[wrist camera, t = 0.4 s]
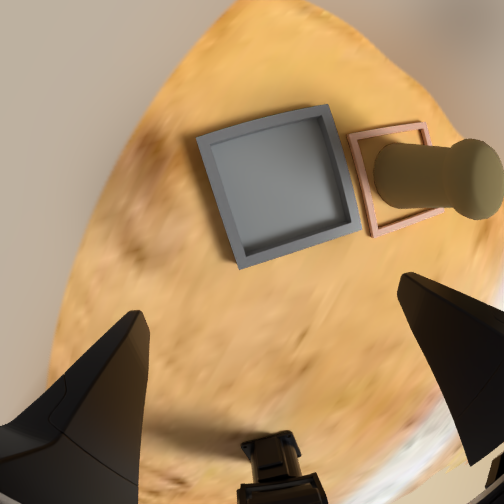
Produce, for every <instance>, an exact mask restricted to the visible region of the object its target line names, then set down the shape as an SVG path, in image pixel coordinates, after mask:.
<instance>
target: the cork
mask: <svg viewBox="0 0 504 504" xmlns="http://www.w3.org/2000/svg"><path fill="white" fill-rule="evenodd" d="M373 172H374V182H375V185H376V188H377V191H378V193H379V194H380V196H381V197H382V199H383V200H384V201H385V202H386V203H387V204H389V205H390V206H392V207H395V208H398V209H408V208H454V209H455V210H456V211H457V212H458V213H460V214H461V215H463V216H465V217H467V218H470V219H473V220H481V219H488V218H489V217H491V216H492V215H494V214H495V213H496V212H497V211H498V209H499V208H500V206H501V204H502V201H503V197H504V170H503V166H502V163H501V161H500V158H499V156H498V155H497V153H496V152H495V150H494V149H493V148H491V147H490V146H489V145H487V144H486V143H485V142H484V141H480V140H476V139H464V140H462V141H460V142H457V143H456V144H454V145H452V147H451V148H447V147H439V146H429V145H417V144H404V143H392V144H390V145H387V146H385V147H384V148H383V149H382V150H381V151H380V152H379V154H378V156H377V158H376V160H375V165H374V171H373Z"/></svg>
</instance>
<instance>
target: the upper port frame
mask: <svg viewBox="0 0 504 504" xmlns="http://www.w3.org/2000/svg"><path fill="white" fill-rule="evenodd" d="M417 129H420V130H421V133H422V137H423V141H424V145H429V146H432V143H431V139H430V135H429V131H428V128H427V124H426V122H420V123H412V124H405V125H398V126H391V127H385V128H379V129H373V130H367V131H362V132H357V133H351V134H347V135H346V136H347V139H348V142H349V146H350V149H351V152H352V156H353V160H354V163H355V167H356V171H357V175H358V179H359V183H360V187H361V191H362V195H363V199H364V204H365V209H366V213H367V218H368V223H369V228H370V233H371V237H372V238H376V237H379V236H382V235H384V234H387V233H390V232H393V231H395V230H398V229H401V228H404V227H406V226H409V225H412V224H414V223H417V222H420V221H422V220H425V219H428V218H430V217H433V216H436V215H438V214H441V213H443V212H444V208H433V209H430V210H427V211H424V212H422V213H419V214H416V215H413V216H410V217H408V218H405V219H402V220H399V221H396V222H393V223H391V224H388V225H385V226H382V227H379V228H378V225H377V220H376V215H375V210H374V205H373V200H372V196H371V191H370V187H369V183H368V178H367V174H366V170H365V167H364V163H363V159H362V155H361V152H360V148H359V145H358V141H357V140H359V139H364V138H369V137H375V136H380V135H386V134H392V133H397V132H404V131H410V130H417Z"/></svg>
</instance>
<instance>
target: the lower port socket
mask: <svg viewBox="0 0 504 504" xmlns="http://www.w3.org/2000/svg"><path fill="white" fill-rule="evenodd" d="M196 140H197V144H198V147H199V150H200V153H201V156H202V159H203V162H204V166H205V169H206V172H207V175H208V178H209V181H210V184H211V187H212V190H213V193H214V196H215V199H216V202H217V206H218V209H219V212H220V215H221V218H222V221H223V224H224V227H225V230H226V233H227V236H228V239H229V242H230V245H231V248H232V251H233V253H234V256H235V259H236V262H237V265H238V268H239V270H241V269H244V268H247V267H250V266H253V265H256V264H259V263H263V262H266V261H269V260H272V259H275V258H278V257H281V256H284V255H287V254H290V253H293V252H296V251H299V250H302V249H305V248H308V247H311V246H314V245H317V244H320V243H323V242H326V241H329V240H332V239H335V238H338V237H341V236H344V235H347V234H350V233H353V232H356V231H359V230H362V225H361V220H360V216H359V211H358V207H357V202H356V198H355V194H354V190H353V185H352V182H351V178H350V174H349V170H348V166H347V163H346V159H345V156H344V152H343V149H342V145H341V142H340V139H339V135H338V132H337V129H336V126H335V123H334V120H333V117H332V114H331V111H330V108H329V105H328V104H325V105H319V106H313V107H308V108H303V109H298V110H294V111H289V112H284V113H280V114H276V115H272V116H268V117H264V118H260V119H256V120H252V121H248V122H245V123H241V124H238V125H234V126H231V127H227V128H224V129H221V130H218V131H214V132H211V133H208V134H205V135H202V136H199V137H196Z"/></svg>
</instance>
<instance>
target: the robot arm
mask: <svg viewBox="0 0 504 504" xmlns="http://www.w3.org/2000/svg"><path fill="white" fill-rule="evenodd" d="M397 297H398V300H399V302H400V305H401V307H402V309H403V312H404V314H405V316H406V319H407V321H408V323H409V326H410V328H411V330H412V332H413V334H414V336H415V338H416V340H417V342H418V344H419V346H420V348H421V350H422V352H423V354H424V356H425V358H426V360H427V362H428V364H429V366H430V368H431V370H432V372H433V374H434V376H435V378H436V381H437V383H438V385H439V387H440V389H441V392H442V394H443V396H444V398H445V401H446V403H447V405H448V408H449V410H450V413H451V415H452V418H453V420H454V423H455V426H456V428H457V431H458V434H459V436H460V439H461V442H462V445H463V448H464V450H465V453H466V456H467V460H468V463H469V465H470V466H472V465H474V464H475V463H476V462H478V461H479V460H481V459H482V458H484V457H485V456H486V455H488V454H489V453H490V452H492V451H493V450H494V449H495V448H497V447H498V446H499V445H500V444H502V443H503V442H504V311H501V310H499V309H497V308H495V307H492V306H490V305H487V304H486V303H483V302H481V301H479V300H477V299H475V298H472V297H470V296H468V295H466V294H463V293H461V292H459V291H456V290H454V289H452V288H449V287H447V286H445V285H442V284H440V283H438V282H435V281H433V280H431V279H428V278H426V277H423V276H421V275H418V274H416V273H414V272H408V273H404V274H402V276H401V278H400V282H399V286H398V291H397ZM149 343H150V331H149V327H148V325H147V323H146V320H145V318H144V315H143V313H142V311H140V310H132V311H129V312H127V313H126V314H125V315H124V316H123V317H122V318H121V319H120V320H119V321H118V322H117V323H116V324H115V325H113V326H112V327H111V328H110V329H109V330H108V331H107V332H106V333H105V334H104V335H103V336H102V337H101V338H100V339H99V340H98V341H97V342H96V343H95V344H94V345H92V346H91V347H90V348H89V349H88V350H87V351H86V352H85V353H84V354H83V355H82V356H81V357H80V358H79V359H78V360H77V361H76V362H75V363H74V364H73V365H72V366H71V367H70V368H69V369H68V370H67V371H66V372H65V373H64V374H65V375H64V374H63V375H62V376H61V377H60V378H59V379H58V380H57V381H56V382H55V383H54V384H53V385H52V386H51V387H50V388H49V389H48V390H47V391H46V392H45V393H43V394H42V395H41V396H40V397H39V398H38V399H37V400H36V401H34V402H33V403H32V404H31V405H30V406H29V407H28V408H26V409H25V410H24V411H23V412H22V413H21V414H20V415H18V416H17V417H16V418H15V419H14V420H12V421H11V422H9V423H8V424H5V425H2V426H0V504H138V480H139V460H140V445H141V433H142V422H143V413H144V404H145V396H146V388H147V381H148V369H149ZM241 448H242V450H243V451H244V453H245V454H246V455H247V457H248V458H249V460H250V461H251V466H252V475H253V483H251V484H245V483H244V484H241V488H240V489H238V490H237V504H328V500H327V497H326V494H325V491H324V489H323V487H322V485H321V482H320V480H319V478H318V475H317V473H316V472H315V473H311V474H309V475H304V476H302V473H301V469H300V466H299V462H298V458H299V457H301V452H300V450H299V447H298V445H297V442H296V440H295V437H294V435H293V433H292V432H286V433H282V434H278V435H275V436H271V437H267V438H263V439H259V440H254V441H250V442H245V443H242V444H241ZM485 488H486V490H485V491H483V492H482V493H481V494H479V495H478V496H477V497H476V498H474V499H473V500H472V501H470V502H469V503H467V504H504V451H503V452H502V453H500V454H499V455H498V456H497V457H496V458H495V459H494V460H493V461H492V464H491V468H490V471H489V475H488V479H487V482H486V485H485Z"/></svg>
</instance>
